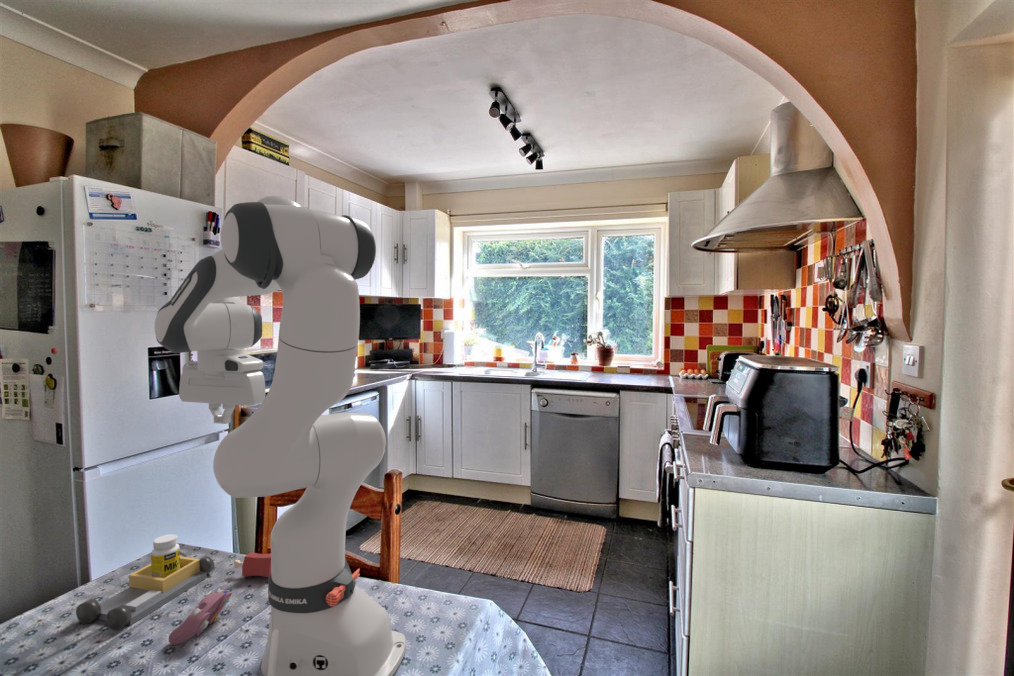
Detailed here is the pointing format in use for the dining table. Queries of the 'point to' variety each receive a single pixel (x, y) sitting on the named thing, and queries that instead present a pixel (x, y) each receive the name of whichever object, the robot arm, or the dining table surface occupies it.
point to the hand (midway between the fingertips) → (222, 423)
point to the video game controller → (200, 616)
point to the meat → (255, 565)
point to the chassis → (145, 593)
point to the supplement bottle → (165, 556)
